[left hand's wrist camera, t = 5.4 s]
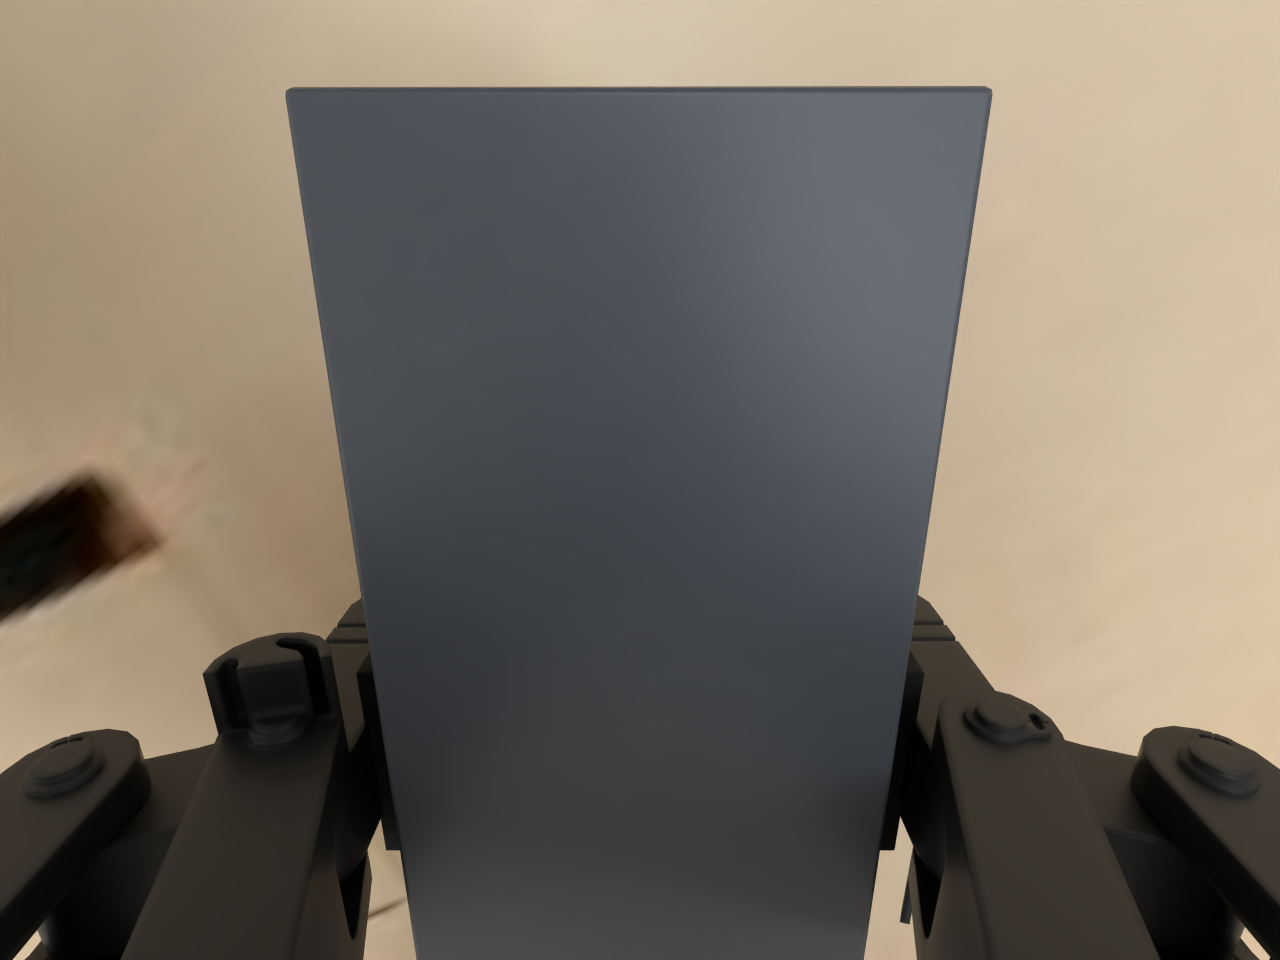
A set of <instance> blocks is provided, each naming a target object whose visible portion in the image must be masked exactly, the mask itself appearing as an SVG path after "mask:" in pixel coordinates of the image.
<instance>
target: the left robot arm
mask: <svg viewBox="0 0 1280 960" xmlns="http://www.w3.org/2000/svg"><path fill="white" fill-rule="evenodd" d="M203 677H204V681H205V685H206V689H207V693H208V696H209V700H210V704H211V708H212V711H213V715H214V719H215V723H216V727H217V730H218V737H217V739H216V741H215V744H211V745H207V746H204V747H200V748H196V749H191V750H187V751H182V752H177V753H173V754H168V755H163V756H158V757H154V758H149V759H144V757H143V754H142V751H141V747H140V744H139V741H138V740H137V739H136V738H135V737H134V736H132V735H131V734H130V733H129V732H127V731H120V730H113V729H104V730H96V731H88V732H82V733H78V734H74V735H70V736H69V737H64V738H61V739H58V740H56V741H53V742H51V743H49V744H48V745H46V746H44V747H42V748H40V749H38V750H36V751H34V752H32V753H30V754H27V755H26V756H24V757H23V758H22V759H20V760H19V761H18V762H16V763H15V764H13V765H12V766H11V767H9V768H8V769H6V770H5V771H4V772H2V773H1V774H0V960H13V959H14V957H15V956H16V955H17V954H18V952H19V951H20V950H21V949H22V948H23V946H24V945H25V944H26V943H27V942H28V940H29V939H30V938H31V937H32V936H33V934H34V933H35V932H36V931H37V930H38V933H39V935H40V937H41V942H40V943H39V944H38V945H37V947H36V948H35V949H34V950H33V952H32V953H31V954H30V955H29V956H28V957H27V958H26V959H25V960H363V956H364V947H365V937H366V928H367V919H368V910H369V901H370V892H371V882H372V875H371V868H370V861H369V856H368V851H367V849H368V847H369V844H370V842H371V840H372V837H373V835H374V833H375V830H376V828H377V826H378V823H379V821H380V819H381V822H382V828H383V834H384V840H385V846H386V850H400V846H399V839H398V833H397V826H396V819H395V813H394V806H393V800H392V793H391V787H390V780H389V773H388V767H387V760H386V754H385V747H384V741H383V734H382V727H381V721H380V714H379V708H378V701H377V694H376V688H375V681H374V675H373V668H372V662H371V655H370V648H369V642H368V635H367V629H366V622H365V616H364V609H363V602H362V598H361V599H360V600H358V601H357V602H355V603H354V604H352V605H351V606H350V608H349V609H348V610H347V612H346V613H345V614H344V616H343V617H342V618H341V620H340V621H339V623H338V626H337V628H334V629H333V631H332V632H331V633H330V635H329V636H328V637H327V639H326V641H325V640H324V639H322V638H321V637H320V636H316V635H312V634H307V633H303V632H297V633H278V634H274V635H269V636H265V637H260V638H256V639H254V640H251V641H249V642H246V643H244V644H241V645H239V646H236V647H234V648H232V649H231V650H229V651H228V652H226V653H224V654H223V655H221V656H220V657H218V658H217V659H215V660H214V661H213V662H212V663H211V665H210V666H209V667H208V668H207V669H206V670H205V672H204V673H203ZM900 816H901V819H902V821H903V823H904V826H905V828H906V830H907V833H908V835H909V837H910V839H911V842H912V844H913V851H912V856H911V861H910V867H909V872H908V878H907V883H906V889H905V894H904V900H903V905H902V912H901V918H900V922H902V923H906V924H909V923H910V918H911V913H912V917H913V927H914V936H915V945H916V954H917V960H1259V959H1258V958H1257V957H1256V956H1255V955H1254V954H1253V953H1252V952H1251V950H1250V949H1249V948H1248V947H1247V945H1246V944H1245V943H1244V942H1243V940H1242V939H1241V938H1240V937H1241V935H1242V932H1243V930H1244V928H1245V927H1246V928H1247V929H1248V931H1249V932H1250V933H1251V934H1252V935H1253V937H1254V938H1255V939H1256V940H1257V941H1258V943H1259V944H1260V945H1261V946H1262V947H1263V949H1264V950H1265V951H1266V952H1267V953H1268V955H1269V956H1270V957H1271V958H1270V960H1280V769H1279V768H1277V767H1276V766H1274V765H1273V764H1272V763H1270V762H1269V761H1267V760H1266V759H1265V758H1263V757H1262V756H1260V755H1259V754H1258V753H1256V752H1255V751H1253V750H1251V749H1249V748H1246V747H1244V746H1242V745H1240V744H1238V743H1236V742H1234V741H1233V740H1231V739H1229V738H1226V737H1224V736H1221V735H1218V734H1213V733H1212V732H1208V731H1204V730H1200V729H1194V728H1186V727H1178V726H1169V727H1162V728H1155V729H1153V730H1152V731H1151V732H1149V733H1148V734H1147V735H1146V736H1144V737H1143V740H1142V744H1141V747H1140V750H1139V753H1138V756H1137V757H1136V756H1132V755H1127V754H1122V753H1118V752H1113V751H1108V750H1103V749H1099V748H1094V747H1089V746H1085V745H1081V744H1077V743H1073V742H1070V741H1066V740H1064V738H1063V735H1062V733H1061V732H1060V731H1059V729H1058V728H1057V726H1056V725H1055V724H1054V722H1053V721H1052V720H1051V718H1049V717H1048V716H1047V715H1045V714H1044V713H1043V712H1041V711H1040V710H1039V709H1037V708H1036V707H1035V706H1033V705H1032V704H1030V703H1027V702H1025V701H1023V700H1021V699H1019V698H1017V697H1015V696H1012V695H1010V694H1006V693H1002V692H998V691H995V690H994V689H993V687H992V686H991V685H990V683H989V682H988V681H987V679H986V678H985V676H984V675H983V674H982V672H981V671H980V670H979V668H978V667H977V666H976V664H975V663H974V662H973V660H972V659H971V658H970V656H969V655H968V654H967V652H966V651H965V650H964V648H963V647H962V646H961V644H960V643H959V642H958V641H955V636H954V635H953V634H952V632H951V631H950V630H949V628H948V627H947V625H944V624H943V620H942V619H941V617H940V616H939V615H938V613H937V612H936V611H935V609H934V608H933V607H932V605H931V604H930V603H929V602H928V601H926V600H925V599H923V598H922V597H920V596H919V595H918V597H917V604H916V611H915V618H914V624H913V631H912V638H911V644H910V651H909V658H908V665H907V671H906V678H905V685H904V691H903V698H902V705H901V712H900V718H899V725H898V732H897V738H896V745H895V752H894V759H893V765H892V772H891V779H890V785H889V792H888V799H887V806H886V812H885V819H884V826H883V832H882V839H881V846H880V850H894V849H895V843H896V837H897V832H898V826H899V820H900Z"/></svg>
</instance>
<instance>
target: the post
mask: <svg viewBox="0 0 1280 960" xmlns="http://www.w3.org/2000/svg"><path fill="white" fill-rule="evenodd" d="M991 101H992V89H990V88H988V87H985V86H782V87H293V88H290V89H288V90H286V103H287V109H288V116H289V123H290V129H291V136H292V142H293V149H294V155H295V162H296V169H297V175H298V182H299V188H300V195H301V201H302V208H303V215H304V221H305V228H306V234H307V241H308V247H309V254H310V261H311V267H312V274H313V280H314V287H315V293H316V300H317V307H318V313H319V320H320V326H321V333H322V339H323V346H324V353H325V359H326V366H327V372H328V379H329V386H330V392H331V399H332V405H333V412H334V418H335V425H336V432H337V438H338V445H339V451H340V458H341V464H342V471H343V478H344V484H345V491H346V497H347V504H348V510H349V517H350V524H351V530H352V537H353V543H354V550H355V556H356V563H357V570H358V576H359V583H360V589H361V596H362V602H363V609H364V616H365V622H366V629H367V635H368V642H369V648H370V655H371V662H372V668H373V675H374V681H375V688H376V694H377V701H378V708H379V714H380V721H381V727H382V734H383V741H384V747H385V754H386V760H387V767H388V773H389V780H390V787H391V793H392V800H393V806H394V813H395V819H396V826H397V833H398V839H399V846H400V852H401V859H402V865H403V872H404V879H405V885H406V892H407V898H408V905H409V911H410V918H411V925H412V931H413V938H414V944H415V951H416V957H417V960H864V953H865V946H866V940H867V933H868V926H869V920H870V913H871V906H872V900H873V893H874V886H875V879H876V873H877V866H878V859H879V853H880V846H881V839H882V832H883V826H884V819H885V812H886V806H887V799H888V792H889V785H890V779H891V772H892V765H893V759H894V752H895V745H896V738H897V732H898V725H899V718H900V712H901V705H902V698H903V691H904V685H905V678H906V671H907V665H908V658H909V651H910V644H911V638H912V631H913V624H914V618H915V611H916V604H917V597H918V591H919V584H920V577H921V571H922V564H923V557H924V550H925V544H926V537H927V530H928V524H929V517H930V510H931V503H932V497H933V490H934V483H935V477H936V470H937V463H938V456H939V450H940V443H941V436H942V430H943V423H944V416H945V409H946V403H947V396H948V389H949V383H950V376H951V369H952V362H953V356H954V349H955V342H956V336H957V329H958V322H959V315H960V309H961V302H962V295H963V289H964V282H965V275H966V268H967V262H968V255H969V248H970V242H971V235H972V228H973V221H974V215H975V208H976V201H977V195H978V188H979V181H980V174H981V168H982V161H983V154H984V148H985V141H986V134H987V127H988V121H989V114H990V107H991Z"/></svg>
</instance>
